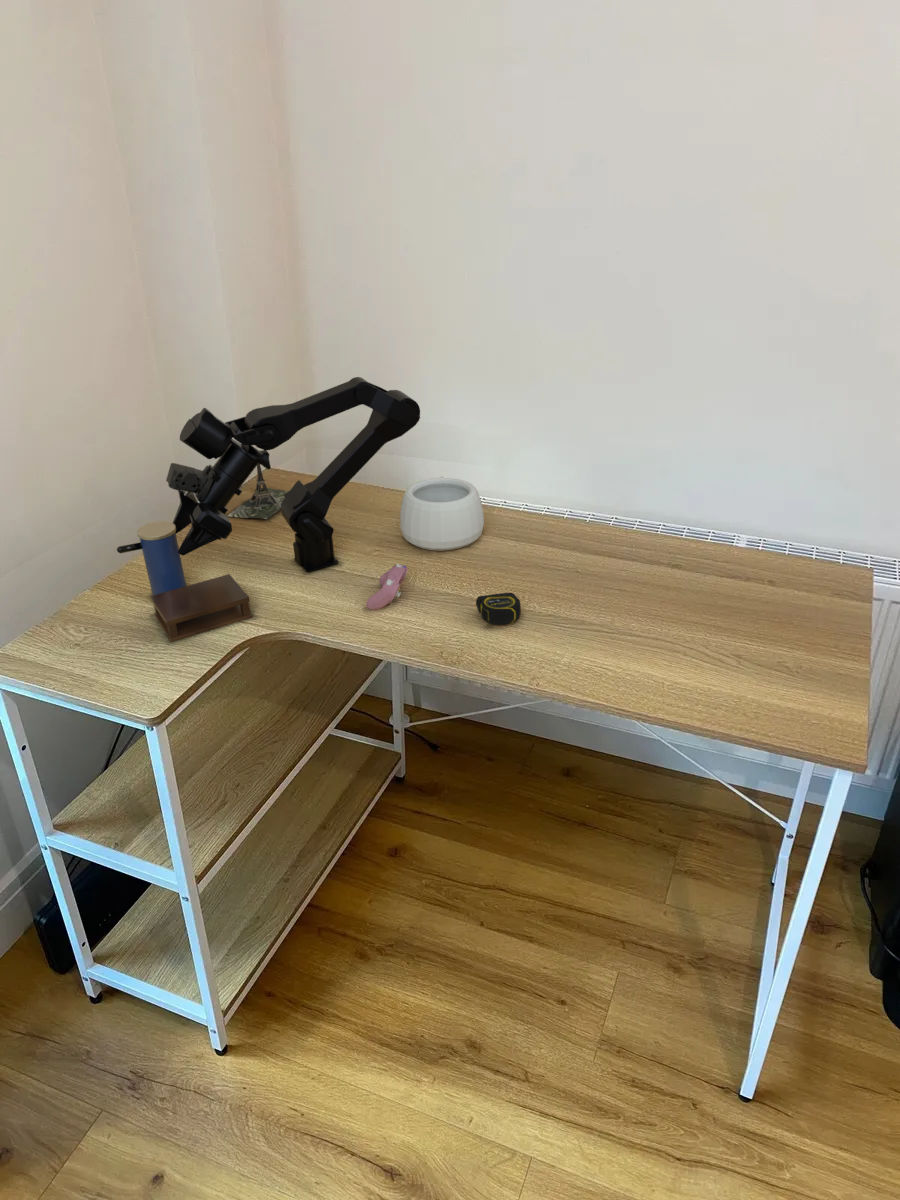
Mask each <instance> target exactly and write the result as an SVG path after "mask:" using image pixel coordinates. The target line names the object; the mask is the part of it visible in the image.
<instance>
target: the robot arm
mask: <svg viewBox="0 0 900 1200" xmlns="http://www.w3.org/2000/svg"><path fill="white" fill-rule="evenodd" d="M362 405H363V406H365V407H367V408H370V409H372V411H371V413H370V416H369V419H368V420H367V424H366V425H365V426H364V427H363V428H362V429H361V430H360V431H359V432H358V434H357V435H355V437H353V439H352V440H350V442H349V443H348V444H347V445H346V446H345V447H344V448H343V449H342V451H341V452H340V453H339V454H338V455H336V457H334V459H333V460H332V461H331V462H330V463H329V464H328V465H327V466H326V467H325V468H324V469H323V470H322V471H321V472H320V473H319V474H318V475H317V476H316V478H315V479H313V480H312V481H310V482H307V483H305V484H304V483H302V481H301V480H297V481H296V482H295V483H294V484H293V486H292V487H291V489H290V490H288V491H289V492H287V493H285V494H284V495H283V496H284V497H285V498H284V500H283V501H282V503H281V509H280V513H281V516H282V518H283V519H284V520H285V522H286V523H287V525H288V526H289V527H290V528H291V530H292V531H293V532H294V542H292V543H293V544H292V545H293V551H294V552H293V554H294V558H293V559H294V561H295V563H296V564H297V565H298V566H299V567H301V568H302V569H303V570H304V572H306V573H311V572H316V571H319V570H322V569H325V568H329V567H332V566H336V565H338V564H339V560H338V559H337V558H336V557H335V552H334V543H333V542H334V541H333V535H334V530H335V529H334V527H333V526H332V525H331V524H330V523H329V521H328V520H327V518H326V516H327V515H328V512H329V508H330V507H331V503H332V501H333V500H334V498H335V497H336V496H337V495H338V494H339V493H340V492H341V491H342V489H343V488H344V487H345V486H346V485H347V484H348V483H349V482H350V481H351V480H352V479H353V478H354V477H355V476H356V475H357V474H358V473H359V472H360V471H361V470H362V469H363V468H364V466H366V465H367V464H368V462H370V460H371V459H372V458H373V457H374V456H375V455H376V454H377V453H378V452H379V451H380V450H381V449H382V447H384V446H385V445H386V444H387V443H389V442H391V441H393V440H396V439H399V438H400V437H402V436H404V435H406V433H408V432H409V431H411V430H412V429H413V428H414V427H416V425H417V424H418V423H419V422H420V419H421V408H420V406H419V403H418V402H417V401H416V400H415V399H413V398H412V397H410V396H409V395H408V394H406V393H405V392H403V391H401V390H398V389H389V390H387V389H386V388H383V387H381V386H379V385H376V384H373V383H371V382H369V381H367V380H366V379H364V378H363V377H360V376H356V377H355V376H354V377H352V378H350V380H348V381H345V382H343V383H341V384H338V385H336V386H333V387H330V388H328V389H325V390H322V391H320V392H318V393H314V394H313V395H310V396H307V397H305V398H302V399H299V400H297V401H294V402H292V403H288V404H277V405H276V404H275V405H274V404H273V405H267V406H264V407H263V406H262V407H258V408H257V407H256V408H253V409H252V410H250V411H248V412H247V413H246V414H245V416H242V417H239V418H236V419H232V420H229V421H225V422H224V421H222V420H221V419H219V417H218V416H216V415H214V413H213V412H211V411H210V410H209V409H208V408H207V407H203V408H202V409H201V411H200V412H197V413H196V414H194V415H193V416H192V417H191V418H189V419H188V420H187V421H186V422H185V424H184V425H183V428H181V431H180V434H179V441H180V442H181V443H183V444H184V445H186V446H187V447H189V448H190V449H192V450H194V451H195V452H197V453H198V454H200V455H201V456H202V457H204V458H206V459H207V460H212V459H215V460H216V462H215V463H214V464H213V465H211V464H209V465H206V466H205V467H204V469H203V470H202V469H197V468H195V467H192V466H188V465H183V464H179V463H175V462H170V465H169V469H168V472H167V476H166V479H165V481H166V483H168V487H169V488H170V489H172V490H175V491H177V493H178V497H179V505H178V507H177V511H176V513H175V516H174V518H173V520H172V523H173V524H175V526H176V531H175V532H176V535H177V534H179V532H181V531H183V530H184V529H185V528H187V527H188V526H190V525H191V527H190V529H188V532H187V534H186V535H185V537H184V539H183V540H182V543H181V544H180V546H179V550H178V553H179V554H180V556H183V557H184V556H186V555H188V554H189V553H192V552H194V551H196V550H197V549H199V548H202V547H204V546H206V545H208V544H211V543H213V542H216V541H220V540H222V539H223V540H227V539H228V538H229V536H230V535H231V533H233V527H232V523H231V521H230V519H229V516H227V515H226V513H227V512H228V511H229V510H228V507H227V505H228V504H229V503H230V501H231V500H232V499H233V498H234V496H235V495H237V497H240V495H241V494H242V493H243V490H242V489H241V487H242V486H243V485H244V483H245V482H246V481H247V479H249V477H250V475H251V474H252V473H253V471H255V469H256V468H257V465H258V464H260V466H262V467H264V468H265V469H266V470H270V469H271V468H272V466H271V463H270V453H269V451H271V450H274V449H276V448H278V447H279V446H281V445H283V444H284V443H286V442H288V441H290V440H291V439H292V438H293V437H294V436H295V435H296V434H297V433H298V432H299V431H301V430H302V429H304V428H306V427H309V426H311V425H314V424H316V423H319V422H322V421H324V420H326V419H328V418H332V417H334V416H336V415H340V414H341V413H344V412H346V411H348V410H349V411H350V410H351V409H353V408H356V407H359V406H362ZM259 449H260V450H259Z"/></svg>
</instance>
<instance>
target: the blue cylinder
mask: <svg viewBox="0 0 900 1200" xmlns="http://www.w3.org/2000/svg"><path fill="white" fill-rule="evenodd" d="M175 531H176V526H175V524H173V522H171V521H166V520H165V521H163V520H161V521H153V522H149V523H146V524H143V525H141V526H139V528H138V529H137V530H136V534H137V537H138V539H139V542H133V543H130V544H129V543H128V544H125V545H124V544H123V545H119V546H117V548H116V551H117V553H119V554H124V553H130V552H135V551H140V550H141V551H142V556H143V560H144V564H145V567H146V573H147V577H148V581H149V586H150V590H151V596H153V595H156V594H160V593H163V592H167V591H170V590H174V589H178V588H181V587H185V586H187V581H186V577H185V573H184V567H183V562H182V557H181V554H179V553H178V550H179V548H180V546H179V543H178V538H177V534H176V532H175Z"/></svg>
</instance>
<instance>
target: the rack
mask: <svg viewBox="0 0 900 1200" xmlns="http://www.w3.org/2000/svg"><path fill="white" fill-rule="evenodd" d="M149 598H150V601H151V603H152V604H153V610H154V613H153V615H154V618H155V619H156V621H157V622H158V624H159V626H160V627H161V629H162V630H163V632H164V634H165V636H167V638H168V640H169V641H170V643H173V642H176V641H180V640H183V639H186V638H189V637H192V636H193V637H194V636H196V635H199V634H203V633H206V632H209V631H212V630H217V629H219V628H222V627H226V626H228V625H233V624H235V623H239V622H242V621H245V620H249V619H252V618H253V614H252V612H251V609H250V601H251V600H250V597H249V595H248V594H247V593H246V591H245V590H244V589H243V588H242V587H241V586H240V584H238V583H237V581H236V580H235V579H234V578H233V576H232V575H231V574H230V573H228V574H224V575H221V576H216V577H214V578H210V579H206V580H202V581H199V582H195V583H192V584H189V585H186V586H185V587H181V588H178V589H174V590H170V591H167V592H163V593H160V594H156V595H150V596H149Z"/></svg>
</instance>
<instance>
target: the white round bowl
mask: <svg viewBox="0 0 900 1200" xmlns="http://www.w3.org/2000/svg"><path fill="white" fill-rule="evenodd" d="M484 517H485V516H484V509H483V504H482V499H481V497H480V494H479V491H478V490H477V488H476V486H475V485H474V484H472V483H471V482H468V481H467V480H463V479H460V478H454V477H444V476H440V477H432V478H426V479H423V480H422V479H421V480H419V481H417V482H414V483H412V484H410V485H409V486H408V487H407V488H406V490H405V492H404V494H403V496H402V500H401V505H400V513H399V525H400V527H399V528H400V532H401V534H402V537H403V538H404V539H405V540H406V541H407V542H409V543H410V544H411V545H413V546H415V547H416V548H419V549H423V550H428V551H436V552H437V551H439V552H445V551H454V550H458V549H462V548H465V547H468V546H469V545H471V544H473V543H475V542H476V541H477V540H478V539H479V538H480V537H481V536H482V534H483V530H484V525H485V518H484Z"/></svg>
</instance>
